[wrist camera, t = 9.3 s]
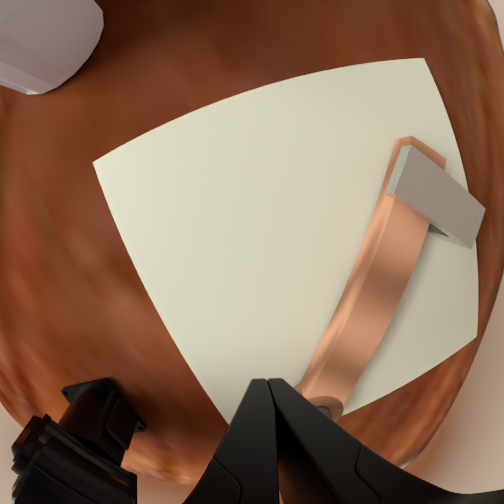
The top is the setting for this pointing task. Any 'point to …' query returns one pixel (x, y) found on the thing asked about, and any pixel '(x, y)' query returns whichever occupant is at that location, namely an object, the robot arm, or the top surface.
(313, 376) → the link
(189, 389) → the top surface
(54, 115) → the top surface
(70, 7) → the soap bottle
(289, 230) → the base board
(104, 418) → the robot arm
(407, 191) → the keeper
